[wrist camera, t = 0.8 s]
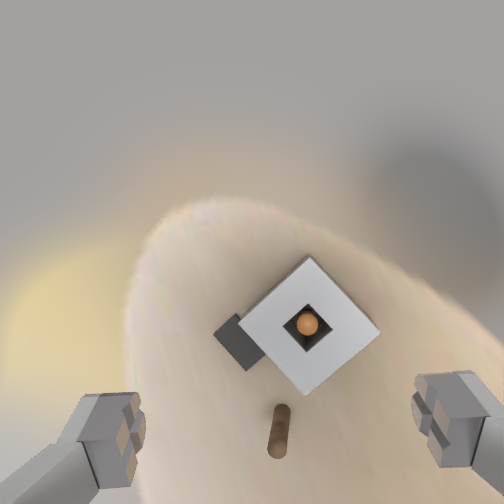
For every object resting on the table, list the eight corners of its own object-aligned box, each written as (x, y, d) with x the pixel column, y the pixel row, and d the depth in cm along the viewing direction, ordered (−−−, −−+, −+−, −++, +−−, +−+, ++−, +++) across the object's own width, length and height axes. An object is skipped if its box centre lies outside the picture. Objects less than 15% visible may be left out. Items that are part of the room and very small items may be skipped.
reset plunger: (321, 321, 52) (322, 326, 50) (306, 334, 53) (306, 339, 50) (307, 306, 53) (307, 310, 50) (293, 319, 53) (292, 324, 51)
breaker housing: (372, 319, 54) (381, 333, 47) (305, 376, 56) (305, 396, 49) (309, 253, 55) (309, 257, 48) (246, 312, 57) (237, 323, 50)
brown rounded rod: (293, 412, 57) (290, 451, 47) (282, 422, 57) (276, 462, 48) (282, 401, 57) (277, 436, 47) (271, 410, 58) (263, 448, 48)
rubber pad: (269, 349, 57) (268, 351, 56) (247, 368, 58) (246, 371, 57) (235, 313, 57) (234, 315, 56) (214, 333, 58) (213, 334, 57)
